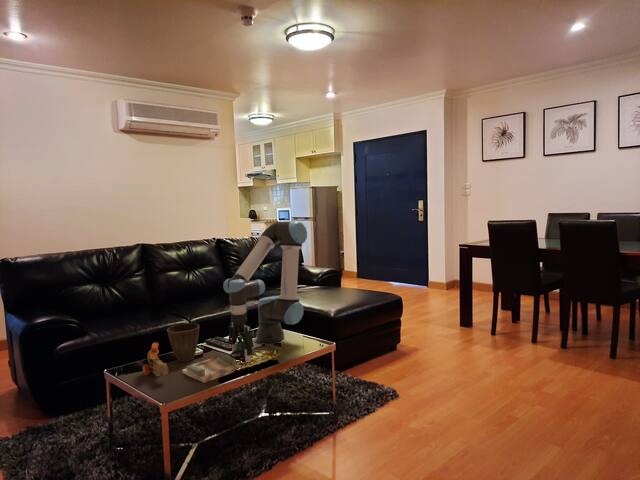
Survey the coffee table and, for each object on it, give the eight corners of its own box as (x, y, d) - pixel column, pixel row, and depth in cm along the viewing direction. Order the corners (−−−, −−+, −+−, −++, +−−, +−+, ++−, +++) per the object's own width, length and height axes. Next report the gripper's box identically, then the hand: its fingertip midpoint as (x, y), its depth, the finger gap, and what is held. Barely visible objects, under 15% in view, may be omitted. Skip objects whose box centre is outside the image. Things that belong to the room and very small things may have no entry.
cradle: (218, 360, 211) (218, 352, 211) (241, 369, 199) (240, 360, 198) (182, 372, 197) (181, 364, 197) (204, 382, 185) (203, 373, 185)
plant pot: (176, 367, 204) (174, 333, 203) (164, 359, 216) (162, 327, 215) (206, 359, 214) (204, 327, 213) (193, 352, 225) (191, 321, 224)
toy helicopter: (159, 368, 204) (157, 339, 203) (177, 381, 188) (175, 349, 187) (141, 373, 199) (139, 343, 198) (157, 386, 183) (155, 354, 182)
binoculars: (225, 343, 205) (239, 334, 214) (228, 364, 207) (242, 355, 216) (240, 345, 201) (253, 337, 209) (243, 367, 203) (256, 357, 211)
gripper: (218, 311, 212) (221, 357, 213) (246, 318, 196) (249, 367, 198) (231, 308, 217) (234, 352, 219) (259, 314, 202) (262, 362, 204)
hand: (241, 359), depth 209 cm, fingers closed on binoculars, 9 cm apart
